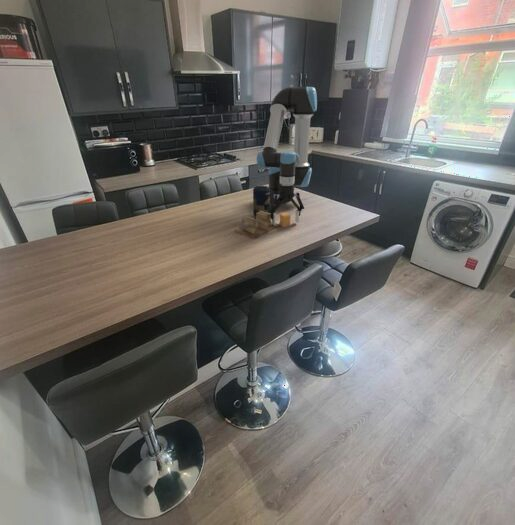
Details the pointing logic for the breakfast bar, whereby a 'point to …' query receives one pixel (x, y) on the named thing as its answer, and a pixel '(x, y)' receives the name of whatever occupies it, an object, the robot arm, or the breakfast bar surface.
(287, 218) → the orange rectangular block
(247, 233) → the shaft bench
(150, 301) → the breakfast bar surface
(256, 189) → the canister
